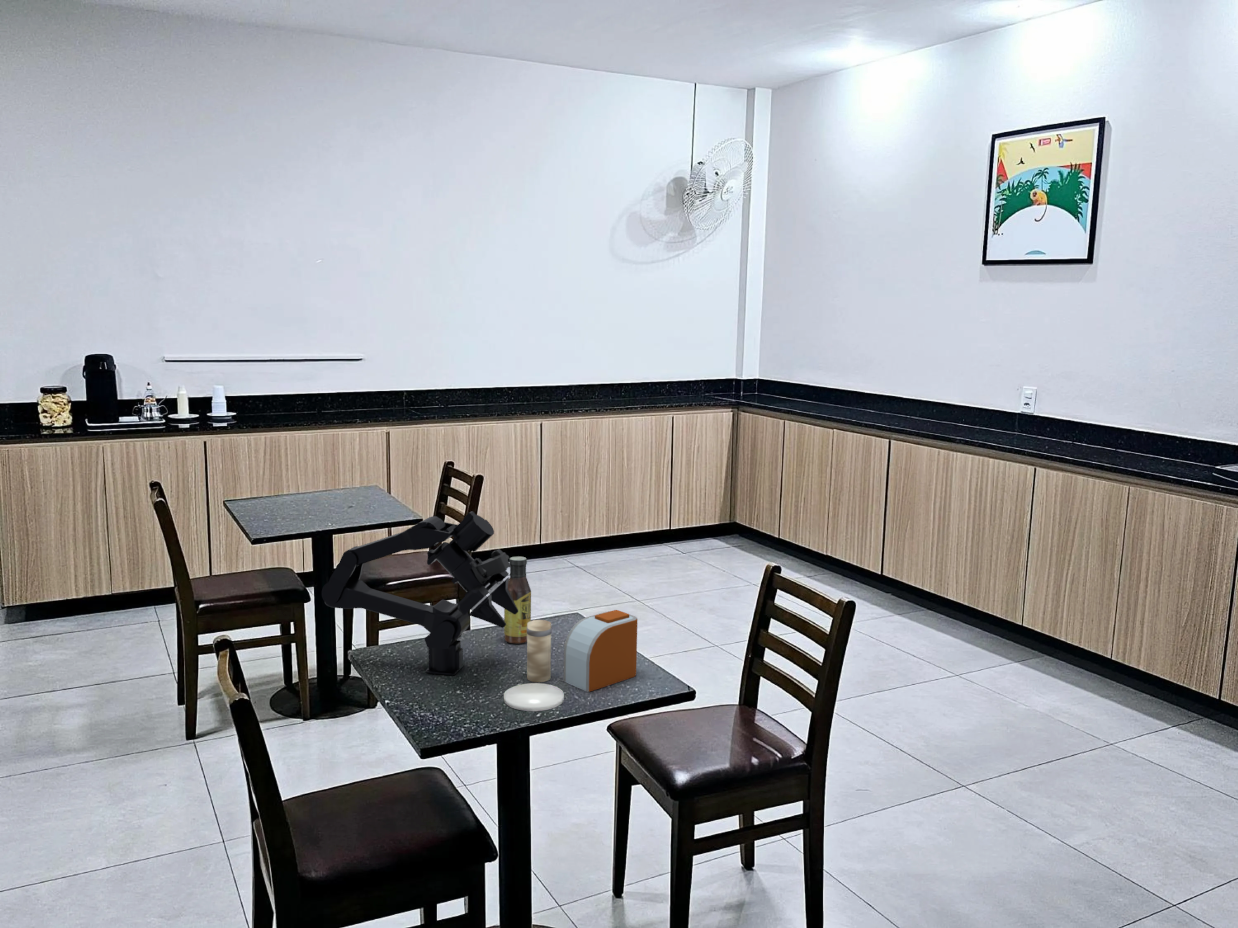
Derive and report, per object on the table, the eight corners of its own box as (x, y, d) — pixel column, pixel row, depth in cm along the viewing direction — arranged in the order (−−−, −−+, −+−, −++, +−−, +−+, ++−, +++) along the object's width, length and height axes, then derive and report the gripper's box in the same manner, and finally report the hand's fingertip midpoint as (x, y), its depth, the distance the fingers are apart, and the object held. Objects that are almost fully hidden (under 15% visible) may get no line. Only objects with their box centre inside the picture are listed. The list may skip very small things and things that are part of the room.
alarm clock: (613, 664, 222) (614, 605, 220) (640, 675, 216) (641, 614, 214) (562, 680, 212) (562, 619, 210) (588, 692, 206) (589, 629, 204)
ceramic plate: (496, 708, 197) (496, 703, 197) (513, 685, 208) (513, 680, 208) (555, 713, 195) (555, 708, 195) (569, 690, 206) (569, 685, 206)
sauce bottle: (526, 645, 233) (526, 562, 230) (500, 643, 234) (500, 561, 231) (534, 636, 239) (534, 556, 236) (509, 634, 240) (509, 554, 237)
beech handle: (523, 681, 211) (523, 626, 209) (530, 672, 216) (530, 618, 214) (547, 683, 210) (548, 628, 208) (553, 674, 215) (554, 620, 213)
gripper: (472, 551, 201) (525, 608, 201) (499, 531, 220) (548, 583, 219) (435, 586, 204) (487, 642, 204) (465, 563, 222) (513, 615, 222)
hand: (511, 619), depth 212 cm, fingers open, 9 cm apart
